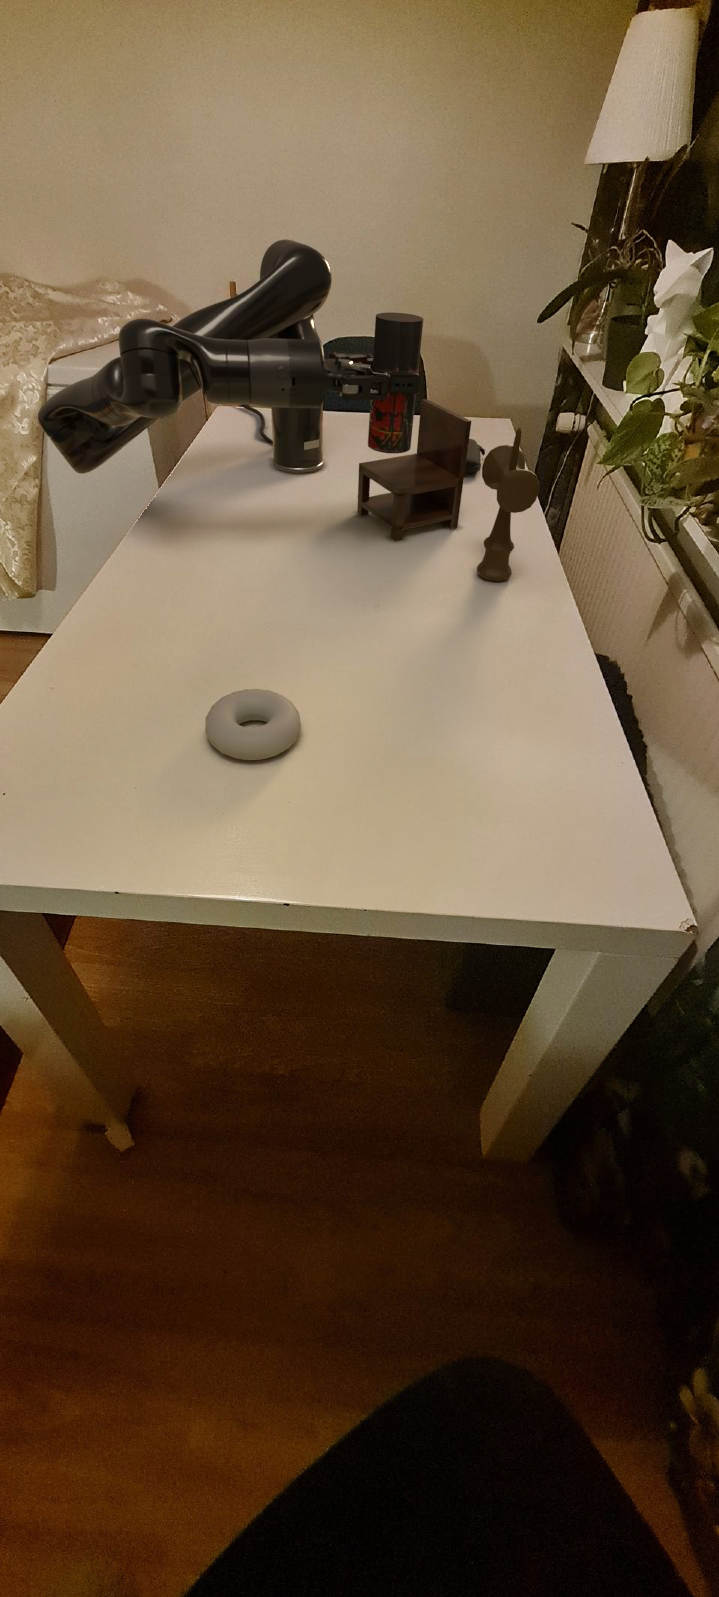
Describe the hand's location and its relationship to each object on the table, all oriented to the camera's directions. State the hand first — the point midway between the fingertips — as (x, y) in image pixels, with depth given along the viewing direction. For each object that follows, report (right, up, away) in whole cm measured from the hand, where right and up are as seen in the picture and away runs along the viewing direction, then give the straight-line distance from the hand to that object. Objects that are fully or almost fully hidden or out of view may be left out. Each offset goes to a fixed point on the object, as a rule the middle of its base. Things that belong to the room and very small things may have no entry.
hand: (412, 376), depth 92 cm
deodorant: (-3, -6, +6) cm, 9 cm away
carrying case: (+12, +9, +44) cm, 47 cm away
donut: (-18, -49, -17) cm, 55 cm away
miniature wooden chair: (+1, -9, +24) cm, 26 cm away
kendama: (+13, -23, +11) cm, 28 cm away
